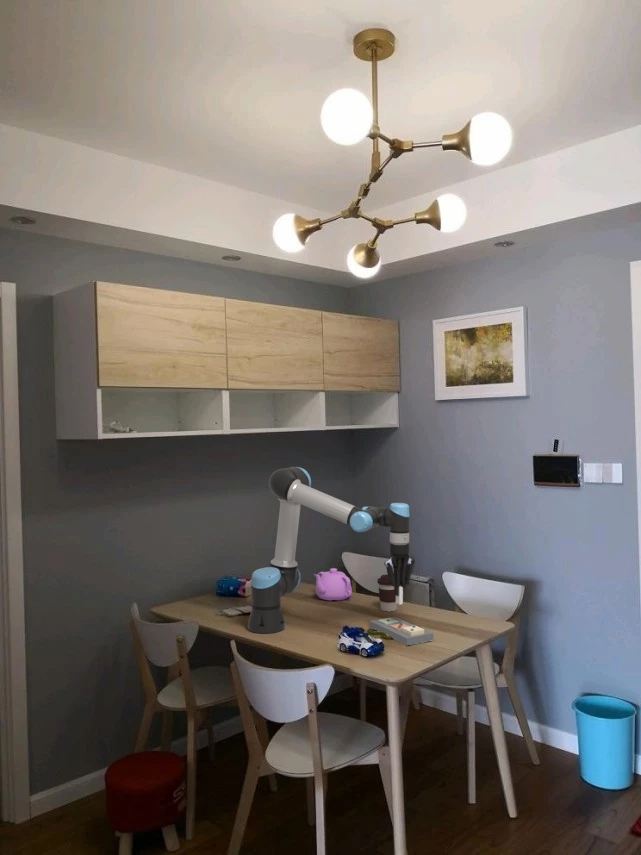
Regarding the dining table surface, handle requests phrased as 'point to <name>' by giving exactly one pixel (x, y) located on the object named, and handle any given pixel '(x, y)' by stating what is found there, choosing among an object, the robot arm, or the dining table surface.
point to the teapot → (333, 585)
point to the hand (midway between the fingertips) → (399, 603)
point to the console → (400, 632)
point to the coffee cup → (386, 594)
